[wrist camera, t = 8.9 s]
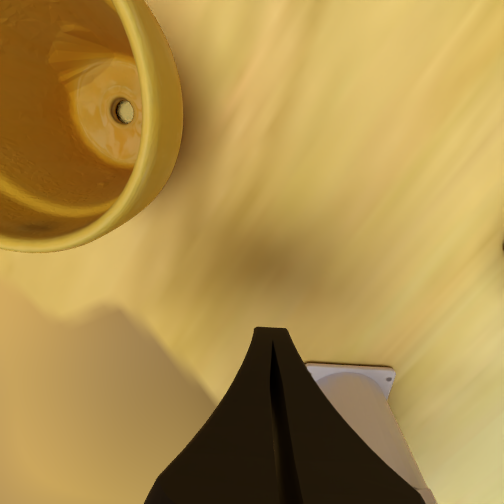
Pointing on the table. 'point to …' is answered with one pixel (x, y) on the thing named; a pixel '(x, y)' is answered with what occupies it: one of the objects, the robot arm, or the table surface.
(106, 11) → the plant pot
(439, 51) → the table surface
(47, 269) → the table surface
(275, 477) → the robot arm
